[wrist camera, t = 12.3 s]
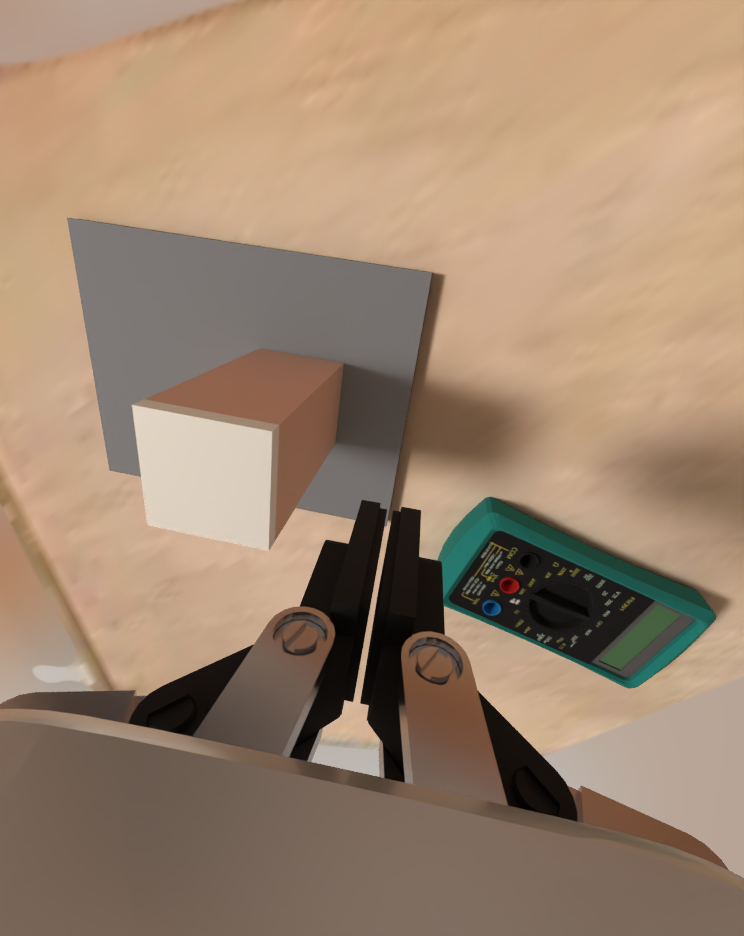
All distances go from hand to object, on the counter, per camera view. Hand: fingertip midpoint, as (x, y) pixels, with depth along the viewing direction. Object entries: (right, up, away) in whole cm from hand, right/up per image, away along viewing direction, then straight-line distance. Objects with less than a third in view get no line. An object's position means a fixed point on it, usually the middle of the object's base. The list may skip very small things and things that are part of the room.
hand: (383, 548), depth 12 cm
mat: (-7, +7, +12) cm, 15 cm away
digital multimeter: (+11, -5, +15) cm, 19 cm away
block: (-4, +6, +11) cm, 13 cm away
